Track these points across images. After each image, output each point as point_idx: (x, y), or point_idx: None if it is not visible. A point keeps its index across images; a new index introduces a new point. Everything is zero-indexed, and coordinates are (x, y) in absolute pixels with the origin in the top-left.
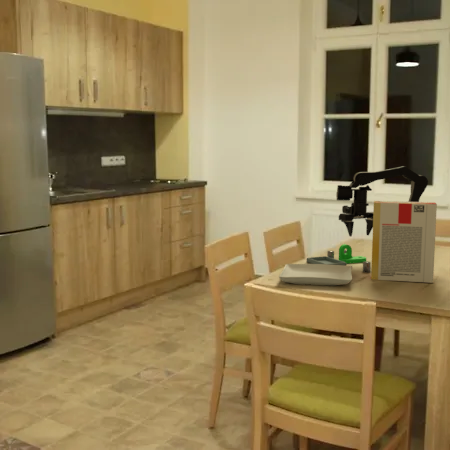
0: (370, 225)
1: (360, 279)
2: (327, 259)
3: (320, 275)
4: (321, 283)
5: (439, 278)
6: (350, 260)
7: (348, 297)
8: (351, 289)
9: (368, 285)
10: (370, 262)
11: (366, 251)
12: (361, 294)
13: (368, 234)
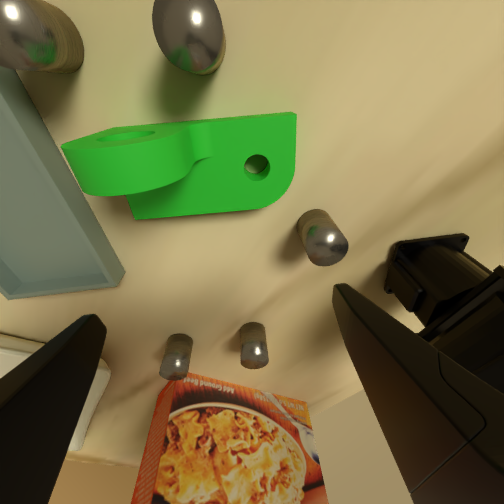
0: (404, 462)
1: (128, 394)
2: (14, 106)
3: (2, 370)
4: None
5: (321, 404)
6: (166, 215)
7: (72, 455)
8: (86, 434)
9: (132, 422)
10: (185, 377)
11: None
12: (100, 449)
13: (338, 313)
